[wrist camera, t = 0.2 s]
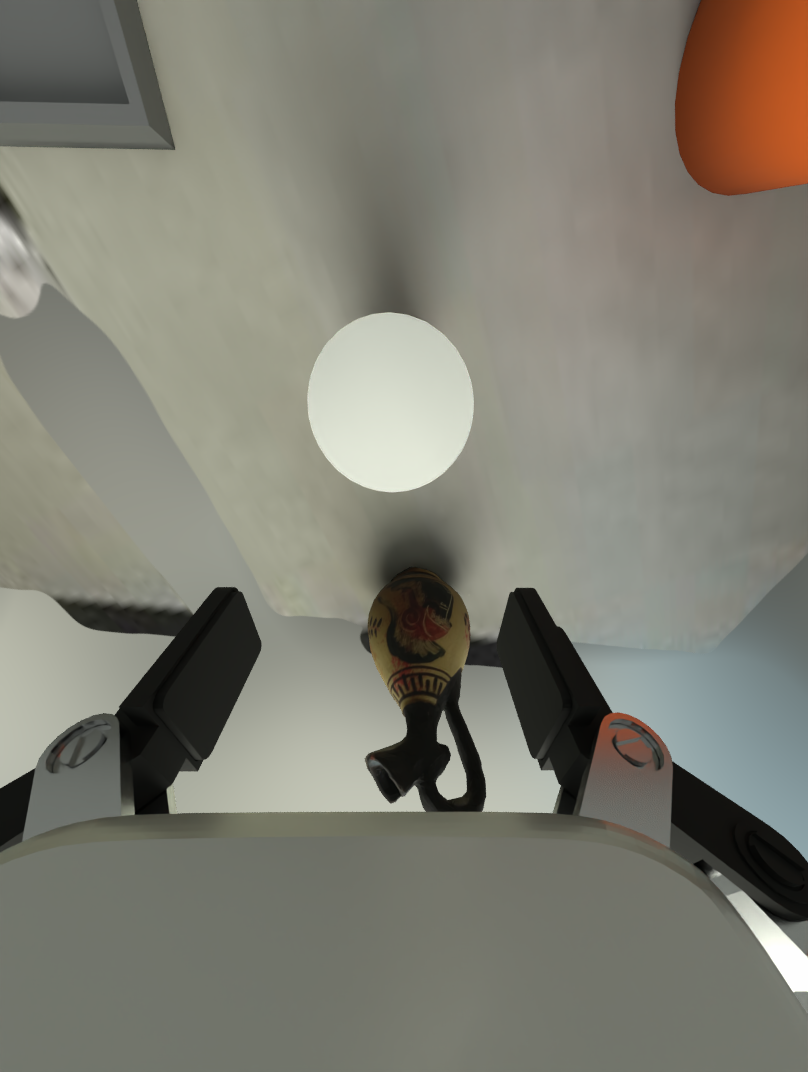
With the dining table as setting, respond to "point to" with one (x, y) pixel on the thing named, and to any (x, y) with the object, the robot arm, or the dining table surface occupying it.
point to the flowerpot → (745, 96)
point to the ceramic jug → (423, 688)
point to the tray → (78, 76)
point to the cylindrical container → (390, 402)
